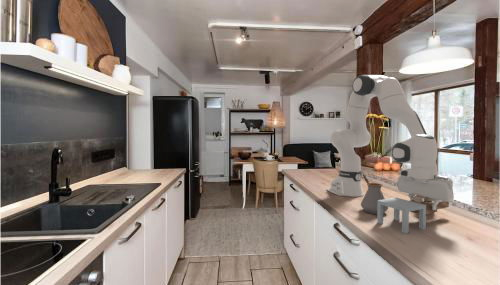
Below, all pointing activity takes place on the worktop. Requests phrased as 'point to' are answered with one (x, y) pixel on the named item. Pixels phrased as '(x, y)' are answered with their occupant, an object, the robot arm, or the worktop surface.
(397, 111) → the robot arm
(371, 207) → the coffee pot
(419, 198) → the wooden mallet
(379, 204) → the small grey table
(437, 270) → the worktop surface
